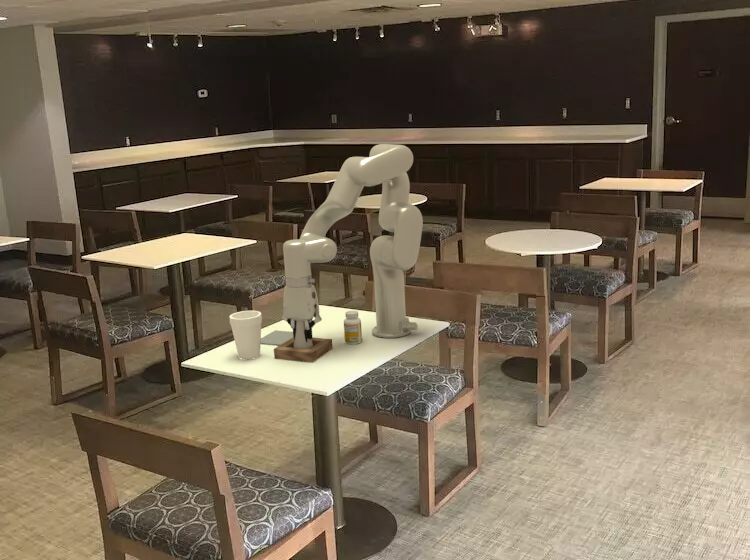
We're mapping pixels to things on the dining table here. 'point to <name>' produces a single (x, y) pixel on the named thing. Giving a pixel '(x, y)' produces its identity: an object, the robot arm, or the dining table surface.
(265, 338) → the grey mat
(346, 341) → the supplement bottle
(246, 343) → the foam cup
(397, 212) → the robot arm
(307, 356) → the block
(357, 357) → the dining table surface
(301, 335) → the salt shaker
